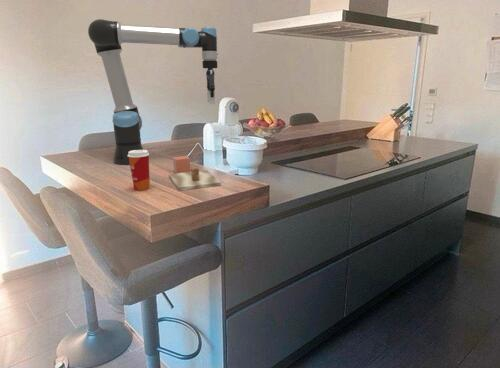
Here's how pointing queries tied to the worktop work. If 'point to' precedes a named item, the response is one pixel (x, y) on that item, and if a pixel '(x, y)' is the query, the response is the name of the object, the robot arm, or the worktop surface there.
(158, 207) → the worktop surface
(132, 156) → the paper cup
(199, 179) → the board
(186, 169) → the reddish orange cube
